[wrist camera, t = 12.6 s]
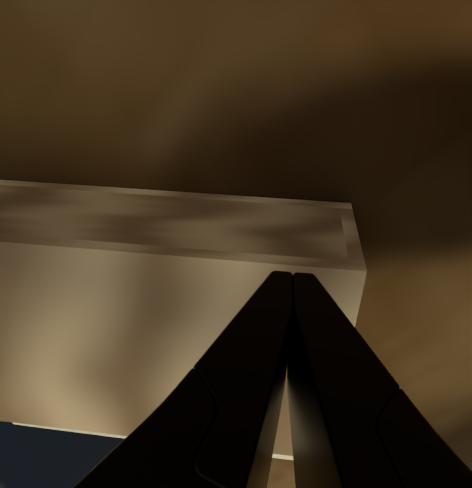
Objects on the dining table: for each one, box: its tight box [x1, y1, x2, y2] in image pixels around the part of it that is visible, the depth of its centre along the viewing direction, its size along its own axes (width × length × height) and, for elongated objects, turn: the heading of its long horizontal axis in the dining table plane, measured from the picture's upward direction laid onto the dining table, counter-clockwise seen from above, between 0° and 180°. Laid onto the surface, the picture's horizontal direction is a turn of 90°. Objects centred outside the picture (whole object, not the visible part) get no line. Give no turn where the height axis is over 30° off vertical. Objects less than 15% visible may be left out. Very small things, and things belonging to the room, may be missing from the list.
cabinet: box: [0, 180, 367, 456], centre depth 22 cm, size 18×12×6 cm, turn 89°
